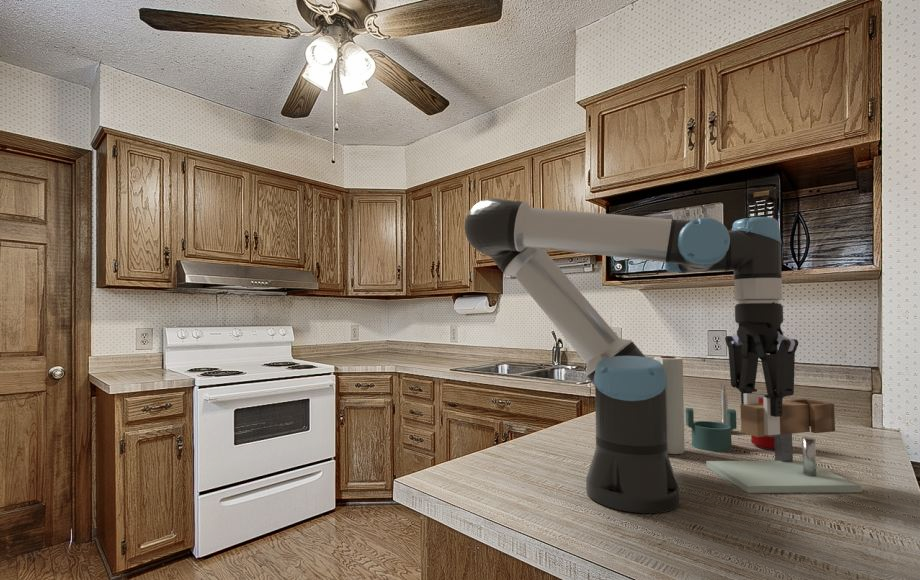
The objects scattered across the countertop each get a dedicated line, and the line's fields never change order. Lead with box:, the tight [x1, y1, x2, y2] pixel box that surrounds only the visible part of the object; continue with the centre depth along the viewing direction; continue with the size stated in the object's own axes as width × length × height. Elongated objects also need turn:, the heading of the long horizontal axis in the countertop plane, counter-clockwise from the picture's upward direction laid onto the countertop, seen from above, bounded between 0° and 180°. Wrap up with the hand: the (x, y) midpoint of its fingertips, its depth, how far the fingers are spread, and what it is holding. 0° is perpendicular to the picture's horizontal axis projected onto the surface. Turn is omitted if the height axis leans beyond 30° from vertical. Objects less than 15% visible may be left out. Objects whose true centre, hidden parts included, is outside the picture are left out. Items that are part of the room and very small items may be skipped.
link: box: [739, 398, 836, 437], centre depth 89 cm, size 17×6×5 cm, turn 106°
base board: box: [705, 459, 862, 494], centre depth 91 cm, size 20×14×1 cm
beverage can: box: [750, 393, 784, 451], centre depth 112 cm, size 7×7×12 cm
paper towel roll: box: [653, 355, 686, 455], centre depth 109 cm, size 7×6×21 cm
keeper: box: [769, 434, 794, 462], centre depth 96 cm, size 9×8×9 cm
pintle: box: [801, 436, 817, 477], centre depth 90 cm, size 2×2×7 cm
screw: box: [715, 381, 729, 424], centre depth 127 cm, size 13×5×5 cm
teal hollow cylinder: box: [685, 407, 738, 453], centre depth 113 cm, size 9×9×9 cm
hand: (761, 431), depth 87 cm, fingers closed on link, 3 cm apart
